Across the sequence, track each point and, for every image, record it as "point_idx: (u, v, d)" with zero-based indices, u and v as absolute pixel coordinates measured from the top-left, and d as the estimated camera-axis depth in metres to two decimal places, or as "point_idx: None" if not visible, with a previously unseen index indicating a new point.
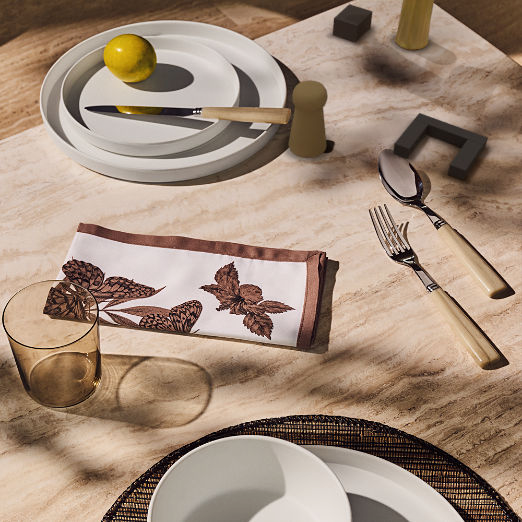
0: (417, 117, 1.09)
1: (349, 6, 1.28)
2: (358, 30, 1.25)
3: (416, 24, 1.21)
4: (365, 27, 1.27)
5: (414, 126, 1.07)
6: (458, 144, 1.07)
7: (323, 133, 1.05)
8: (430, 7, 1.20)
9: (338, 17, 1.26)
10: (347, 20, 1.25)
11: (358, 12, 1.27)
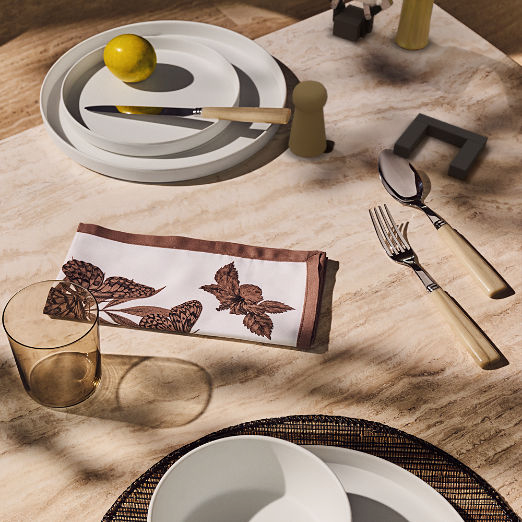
0: (417, 117, 1.09)
1: (349, 6, 1.28)
2: (358, 30, 1.25)
3: (416, 24, 1.21)
4: None
5: (414, 126, 1.07)
6: (458, 144, 1.07)
7: (323, 133, 1.05)
8: (430, 7, 1.20)
9: (338, 17, 1.26)
10: (347, 20, 1.25)
11: (358, 12, 1.27)
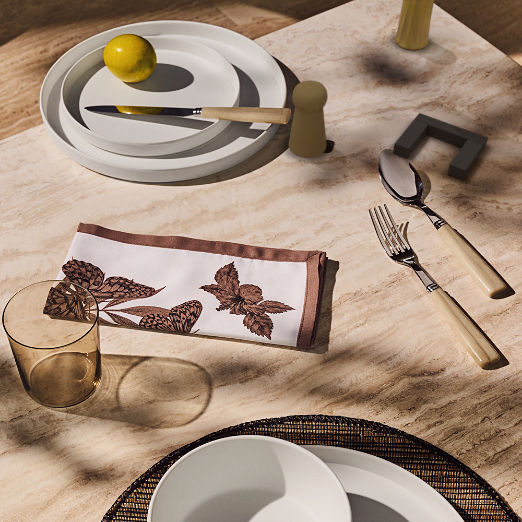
0: (417, 117, 1.09)
1: None
2: None
3: (416, 24, 1.21)
4: None
5: (414, 126, 1.07)
6: (458, 144, 1.07)
7: (323, 133, 1.05)
8: (430, 7, 1.20)
9: None
10: None
11: None
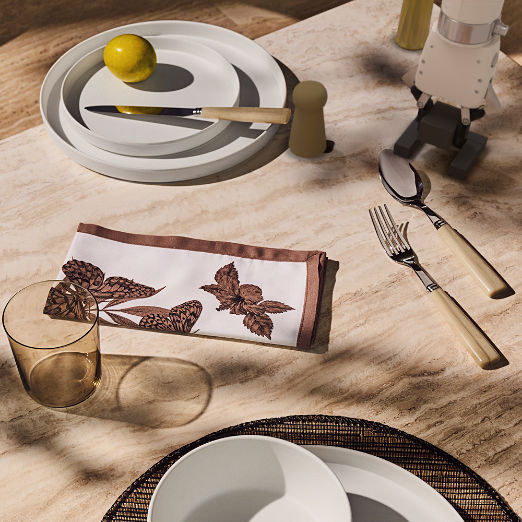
0: None
1: (437, 103, 1.02)
2: (452, 137, 0.99)
3: (416, 24, 1.21)
4: None
5: (414, 126, 1.07)
6: (458, 144, 1.07)
7: (323, 133, 1.05)
8: (430, 7, 1.20)
9: (425, 120, 1.00)
10: (437, 124, 0.99)
11: (450, 112, 1.01)
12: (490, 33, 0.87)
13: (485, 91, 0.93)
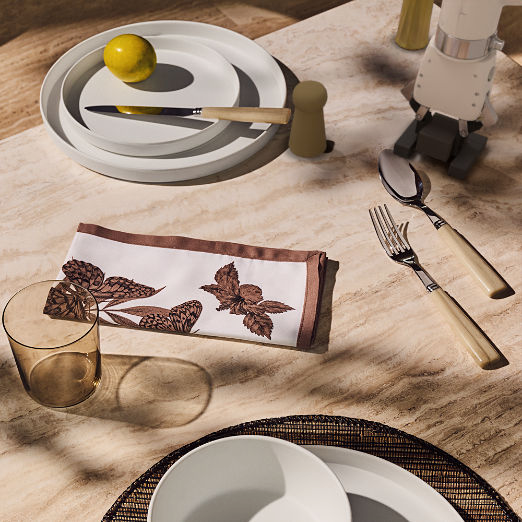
0: None
1: (436, 115, 1.04)
2: (450, 148, 1.01)
3: (416, 24, 1.21)
4: None
5: (414, 126, 1.07)
6: None
7: (323, 133, 1.05)
8: (430, 7, 1.20)
9: (424, 132, 1.01)
10: (436, 136, 1.01)
11: (448, 123, 1.03)
12: (486, 48, 0.88)
13: (482, 104, 0.94)
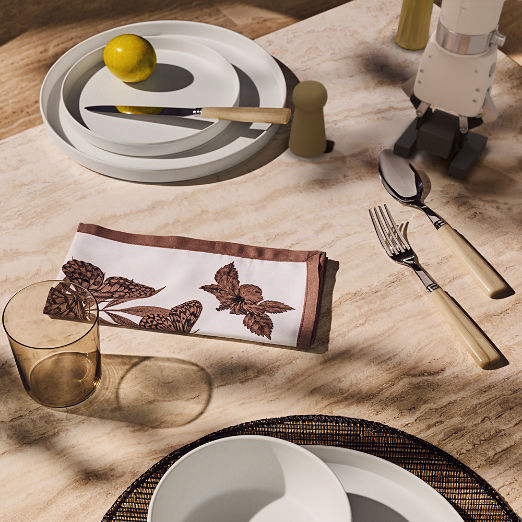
0: (417, 117, 1.09)
1: (436, 111, 1.03)
2: (451, 145, 1.00)
3: (416, 24, 1.21)
4: None
5: (414, 126, 1.07)
6: None
7: (323, 133, 1.05)
8: (430, 7, 1.20)
9: (424, 128, 1.01)
10: (436, 132, 1.00)
11: (448, 120, 1.02)
12: (487, 43, 0.88)
13: (483, 100, 0.94)
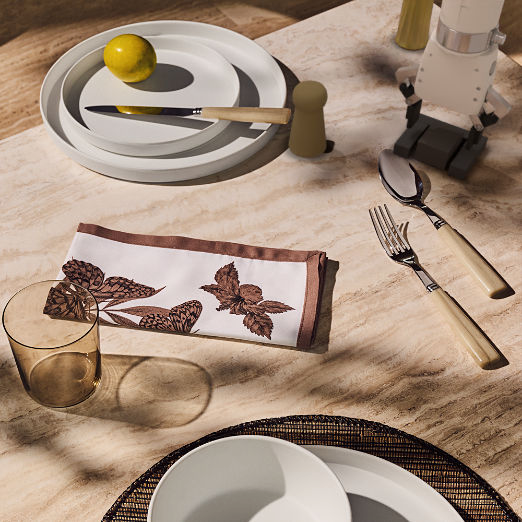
0: None
1: (434, 124, 1.05)
2: (448, 157, 1.02)
3: (416, 24, 1.21)
4: (455, 150, 1.04)
5: (414, 126, 1.07)
6: None
7: (323, 133, 1.05)
8: (430, 7, 1.20)
9: (422, 140, 1.03)
10: (434, 144, 1.02)
11: (446, 132, 1.04)
12: (488, 42, 0.88)
13: (483, 99, 0.94)
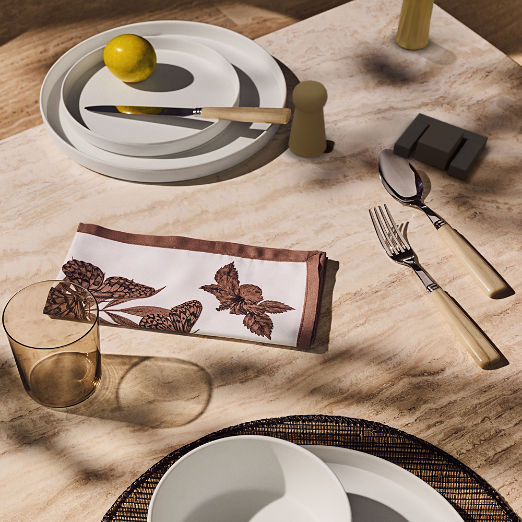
0: (417, 117, 1.09)
1: (434, 124, 1.05)
2: (448, 157, 1.02)
3: (416, 24, 1.21)
4: (455, 150, 1.04)
5: (414, 126, 1.07)
6: None
7: (323, 133, 1.05)
8: (430, 7, 1.20)
9: (422, 140, 1.03)
10: (434, 144, 1.02)
11: (446, 132, 1.04)
12: None
13: None
